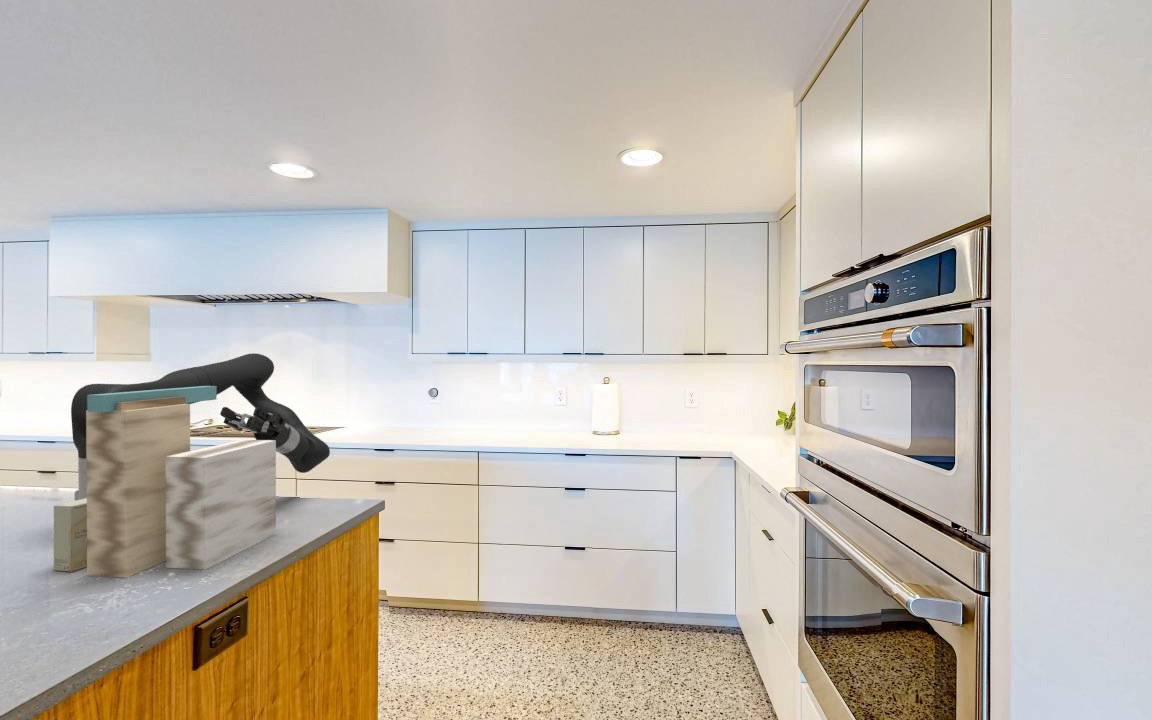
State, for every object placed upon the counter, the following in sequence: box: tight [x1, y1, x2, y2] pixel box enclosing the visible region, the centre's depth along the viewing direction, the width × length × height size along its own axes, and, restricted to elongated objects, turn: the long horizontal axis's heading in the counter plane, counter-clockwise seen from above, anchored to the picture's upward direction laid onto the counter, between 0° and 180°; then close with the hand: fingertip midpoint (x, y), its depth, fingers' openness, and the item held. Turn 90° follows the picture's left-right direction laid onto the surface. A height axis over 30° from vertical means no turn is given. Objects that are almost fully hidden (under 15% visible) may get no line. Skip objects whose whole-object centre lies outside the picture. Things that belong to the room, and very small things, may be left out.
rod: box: [87, 386, 217, 412], centre depth 108 cm, size 3×26×3 cm, turn 174°
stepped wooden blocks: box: [86, 396, 277, 579], centre depth 110 cm, size 19×25×32 cm
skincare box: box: [53, 498, 87, 572], centre depth 103 cm, size 6×4×12 cm
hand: (239, 410), depth 130 cm, fingers open, 8 cm apart
